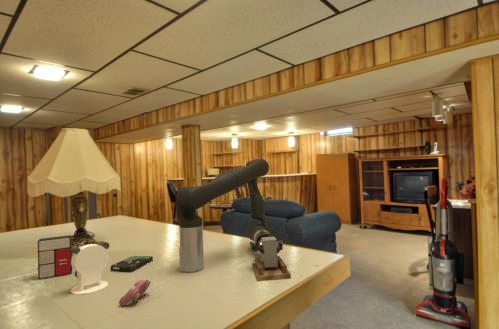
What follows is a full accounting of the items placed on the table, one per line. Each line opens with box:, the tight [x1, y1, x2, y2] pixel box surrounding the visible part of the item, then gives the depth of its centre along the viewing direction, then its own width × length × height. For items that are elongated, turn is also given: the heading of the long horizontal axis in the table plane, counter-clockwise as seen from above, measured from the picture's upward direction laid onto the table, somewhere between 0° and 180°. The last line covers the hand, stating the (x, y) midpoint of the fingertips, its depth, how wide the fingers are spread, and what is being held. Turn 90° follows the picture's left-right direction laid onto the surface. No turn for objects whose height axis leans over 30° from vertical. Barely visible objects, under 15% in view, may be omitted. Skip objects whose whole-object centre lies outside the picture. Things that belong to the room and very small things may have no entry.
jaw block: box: [261, 236, 278, 268], centre depth 109 cm, size 5×5×10 cm
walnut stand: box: [251, 255, 292, 282], centre depth 108 cm, size 12×15×4 cm
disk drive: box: [110, 255, 154, 273], centre depth 123 cm, size 10×3×15 cm
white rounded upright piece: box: [70, 240, 110, 296], centre depth 101 cm, size 12×11×15 cm
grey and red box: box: [37, 234, 73, 280], centre depth 114 cm, size 11×4×15 cm, turn 118°
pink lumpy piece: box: [118, 278, 151, 307], centre depth 89 cm, size 10×5×7 cm, turn 170°
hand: (270, 250), depth 106 cm, fingers closed on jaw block, 5 cm apart
